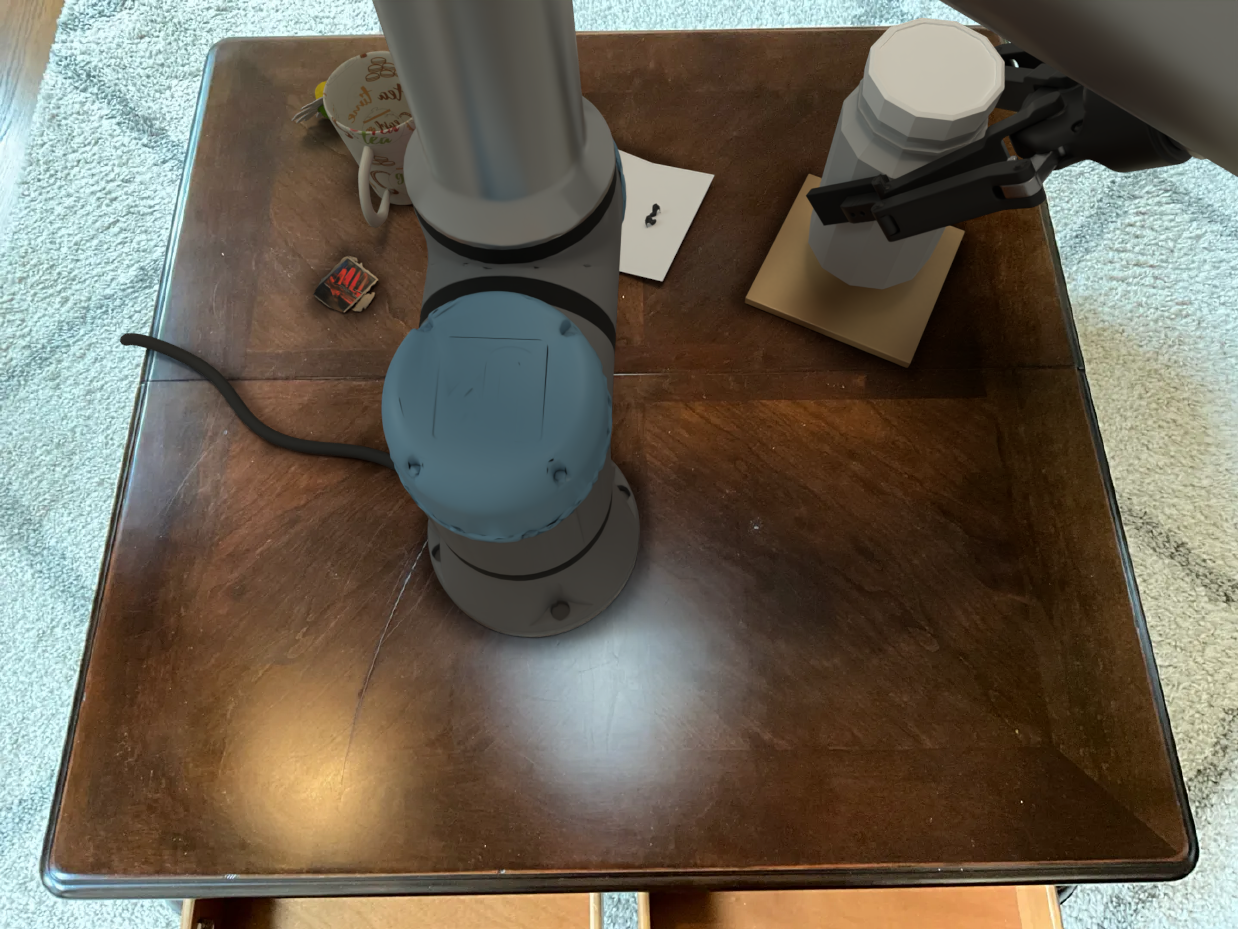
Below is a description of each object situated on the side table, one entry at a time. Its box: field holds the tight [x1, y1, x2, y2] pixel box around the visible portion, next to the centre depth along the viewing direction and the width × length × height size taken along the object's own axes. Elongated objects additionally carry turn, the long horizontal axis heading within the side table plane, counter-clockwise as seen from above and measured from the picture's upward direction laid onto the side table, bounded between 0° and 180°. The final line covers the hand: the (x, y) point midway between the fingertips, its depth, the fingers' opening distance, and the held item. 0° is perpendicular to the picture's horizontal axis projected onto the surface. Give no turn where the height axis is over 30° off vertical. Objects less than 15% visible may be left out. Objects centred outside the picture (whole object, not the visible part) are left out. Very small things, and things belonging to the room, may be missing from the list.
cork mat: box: [744, 173, 966, 369], centre depth 73 cm, size 14×14×1 cm
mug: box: [323, 50, 416, 229], centre depth 72 cm, size 8×13×10 cm, turn 175°
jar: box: [808, 17, 1005, 289], centre depth 62 cm, size 10×10×18 cm
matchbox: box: [312, 254, 379, 313], centre depth 73 cm, size 5×5×1 cm
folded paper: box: [618, 149, 715, 282], centre depth 75 cm, size 12×12×2 cm
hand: (854, 160), depth 64 cm, fingers closed on jar, 10 cm apart
